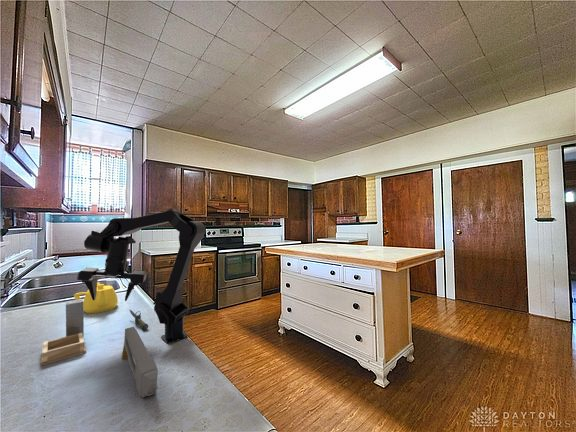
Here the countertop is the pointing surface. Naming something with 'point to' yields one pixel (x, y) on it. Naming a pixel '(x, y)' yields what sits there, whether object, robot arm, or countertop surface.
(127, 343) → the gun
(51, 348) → the dock
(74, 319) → the post
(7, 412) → the countertop surface
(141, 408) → the countertop surface
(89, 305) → the teapot
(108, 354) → the countertop surface
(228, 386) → the countertop surface
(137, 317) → the knife
